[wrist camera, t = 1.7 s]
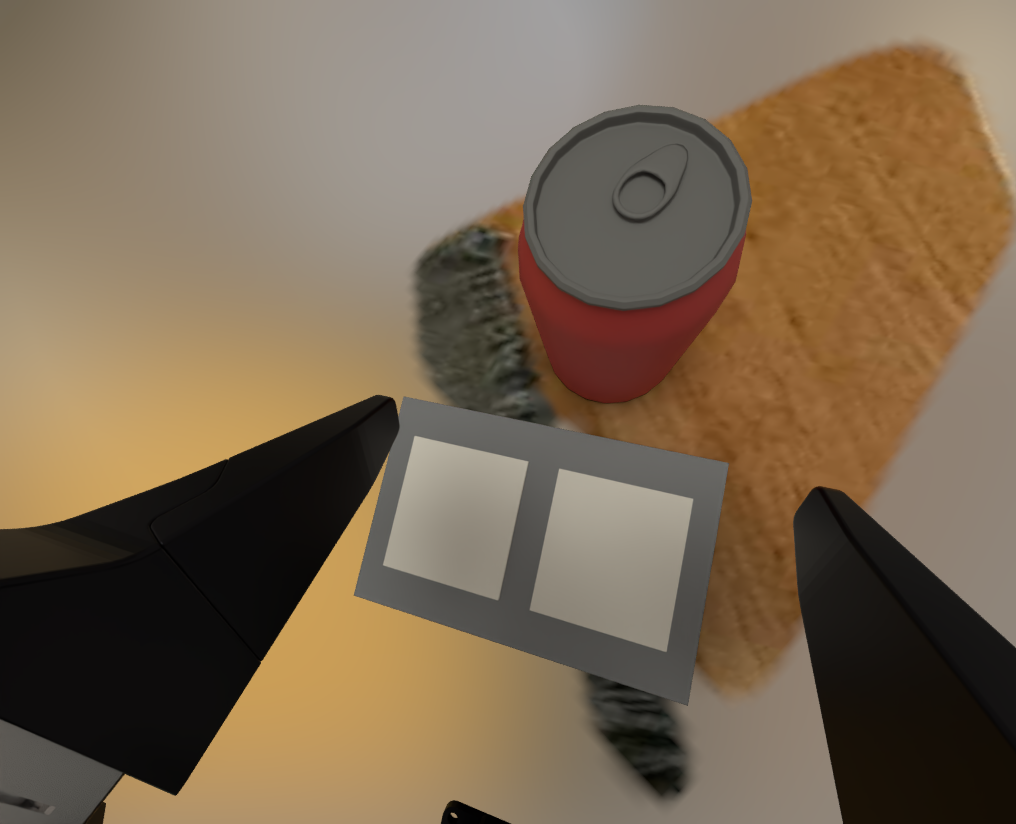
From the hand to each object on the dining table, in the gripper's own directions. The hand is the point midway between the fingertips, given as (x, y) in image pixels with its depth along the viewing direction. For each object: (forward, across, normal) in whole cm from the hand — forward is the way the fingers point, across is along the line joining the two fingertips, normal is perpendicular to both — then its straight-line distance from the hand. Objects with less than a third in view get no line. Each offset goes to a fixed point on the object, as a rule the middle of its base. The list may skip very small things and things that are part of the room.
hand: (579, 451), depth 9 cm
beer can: (+14, 0, +5) cm, 14 cm away
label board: (+6, +2, +12) cm, 14 cm away
